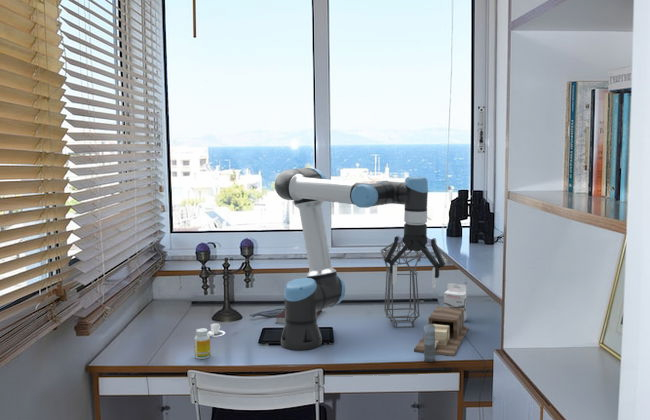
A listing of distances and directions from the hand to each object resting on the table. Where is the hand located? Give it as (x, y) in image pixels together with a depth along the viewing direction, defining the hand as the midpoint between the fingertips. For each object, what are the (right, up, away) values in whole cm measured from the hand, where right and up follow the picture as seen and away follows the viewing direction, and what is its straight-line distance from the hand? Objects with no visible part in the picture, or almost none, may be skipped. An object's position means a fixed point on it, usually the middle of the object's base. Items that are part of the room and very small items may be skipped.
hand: (414, 285), depth 205 cm
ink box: (+24, -20, +44) cm, 54 cm away
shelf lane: (+14, -23, +19) cm, 33 cm away
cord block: (+9, -23, +7) cm, 26 cm away
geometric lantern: (+1, -21, +39) cm, 45 cm away
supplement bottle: (-73, -26, +6) cm, 77 cm away
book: (-41, -21, +52) cm, 70 cm away
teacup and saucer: (-76, -24, +32) cm, 86 cm away
